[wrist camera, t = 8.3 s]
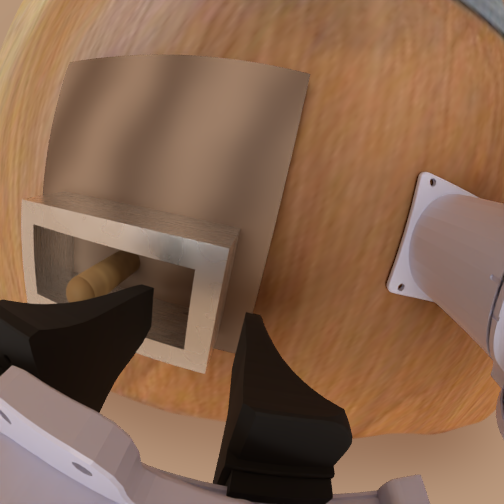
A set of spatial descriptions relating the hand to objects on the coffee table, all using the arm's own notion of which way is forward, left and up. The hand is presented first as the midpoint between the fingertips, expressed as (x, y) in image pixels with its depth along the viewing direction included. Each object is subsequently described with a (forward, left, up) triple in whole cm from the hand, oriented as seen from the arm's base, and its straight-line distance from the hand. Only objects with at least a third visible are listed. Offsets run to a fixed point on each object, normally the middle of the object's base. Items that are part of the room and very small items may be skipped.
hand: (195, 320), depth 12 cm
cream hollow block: (+5, 0, -4) cm, 7 cm away
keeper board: (+6, -4, -6) cm, 9 cm away
